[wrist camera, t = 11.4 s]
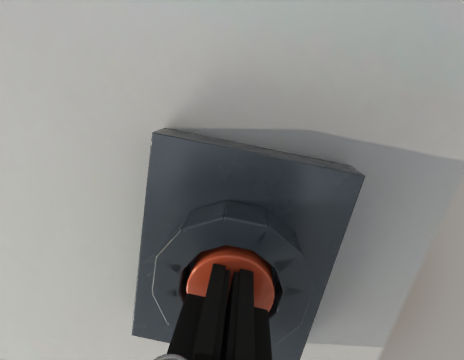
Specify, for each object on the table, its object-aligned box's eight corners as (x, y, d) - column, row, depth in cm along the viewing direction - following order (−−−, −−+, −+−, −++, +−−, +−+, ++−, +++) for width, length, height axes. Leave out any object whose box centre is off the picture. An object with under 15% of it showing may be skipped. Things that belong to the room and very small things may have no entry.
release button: (200, 226, 12) (192, 247, 10) (280, 243, 12) (284, 266, 10) (189, 292, 13) (180, 320, 12) (262, 307, 13) (263, 337, 12)
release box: (164, 127, 13) (133, 138, 10) (351, 165, 13) (386, 189, 9) (143, 311, 16) (114, 367, 13) (291, 342, 16) (302, 407, 13)
